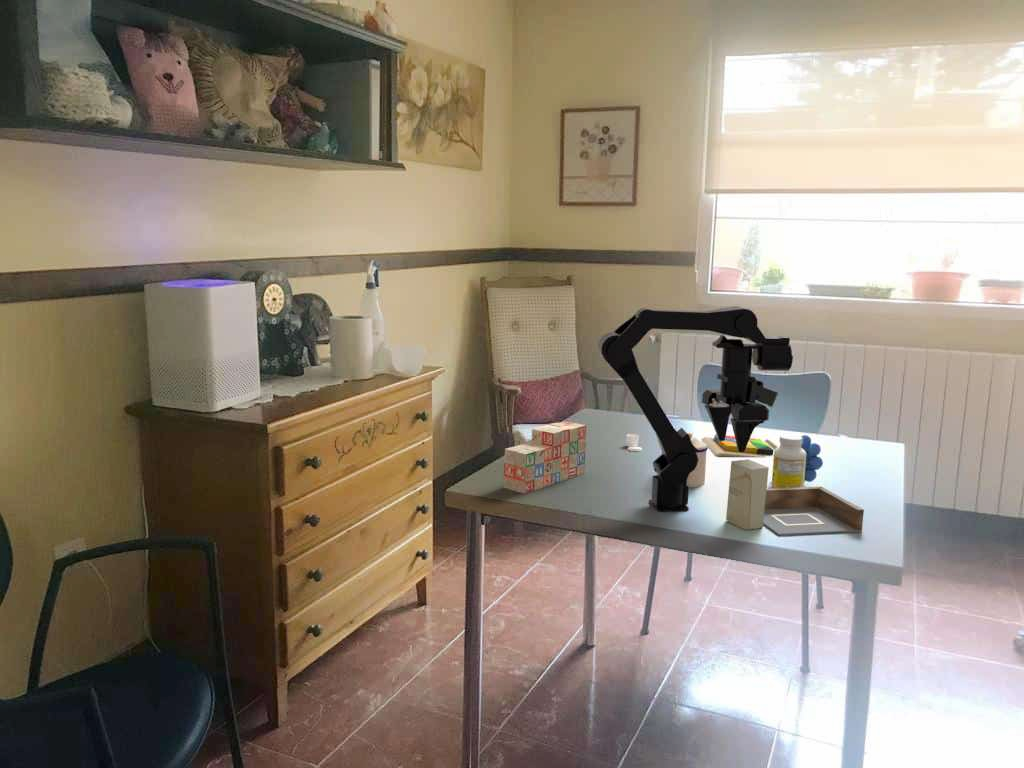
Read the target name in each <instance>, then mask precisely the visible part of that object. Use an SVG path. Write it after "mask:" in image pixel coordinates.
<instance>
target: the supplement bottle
mask: <svg viewBox="0 0 1024 768" xmlns="http://www.w3.org/2000/svg"><path fill="white" fill-rule="evenodd" d="M802 442H803V438H802V437H801V435H795V434H781V435H780V436H779V445H780V446H778V447H777V448H776V449H775V450H774V451H773V461H772V462H773V463H772V474H771V475H772V476H771V488H797V487H805V482H804V479H805V465H806V452H805V450H804V449H802V448H801V445H802Z"/></svg>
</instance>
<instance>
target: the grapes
mask: <svg viewBox="0 0 1024 768" xmlns="http://www.w3.org/2000/svg"><path fill="white" fill-rule="evenodd" d="M800 437H802V438H803V442H802V445H801V448H802V449H804V450H805V452H806V465H805V479H804V483H805V482H809V483H811V482H813V481H814V480H816V479H817V470H819V469H821V468H822V467H823V465H824V463H823V462H824V461H823V459H822V457H820V456H819V455H820V453H821V451H822V449H821V446H820V444H818V443H815V442H812V438H811V437H810V436H809V435H807V434H804V435H800Z"/></svg>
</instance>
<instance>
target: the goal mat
mask: <svg viewBox="0 0 1024 768" xmlns="http://www.w3.org/2000/svg"><path fill="white" fill-rule="evenodd" d="M763 526H764V527H766V528H767V529H768V530H770V532H773V533H774V535H777V536H778V537H785V536H786V537H787V536H802V535H803V536H804V535H809V536H810V535H823V534H825V535H829V534H847V533H848V534H849V533H862V532H863V529H862V530H855V529H853V528H852V527H850V526H848V525H847V524H845V523H843V522H842V521H840V520H838V519H837V518H835V517H833V516H832V515H830V514H828V513H826V512H825V511H823V510H821V509H820V508H818V507H811V508H787V509H764V519H763Z"/></svg>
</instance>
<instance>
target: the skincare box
mask: <svg viewBox="0 0 1024 768" xmlns="http://www.w3.org/2000/svg"><path fill="white" fill-rule="evenodd" d="M769 470H770V469H769V467H768V466H766V465H763V464H760V463H758V462H756V461H753V460H750V459H748V458H747V459H739V460H731V463H730V472H729V483H728V494H727V504H726V513H725V514H726V517H725V520H726V521H727V522H729V523H731V524H732V525H734V526H736V527H738V528H740V529H742V530H744V531H748V530H749V531H751V530H756V529H762V528H763V526H764V525H763V519H764V509H765V499H766V489H768V487H767V486H768V478H769Z"/></svg>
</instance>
